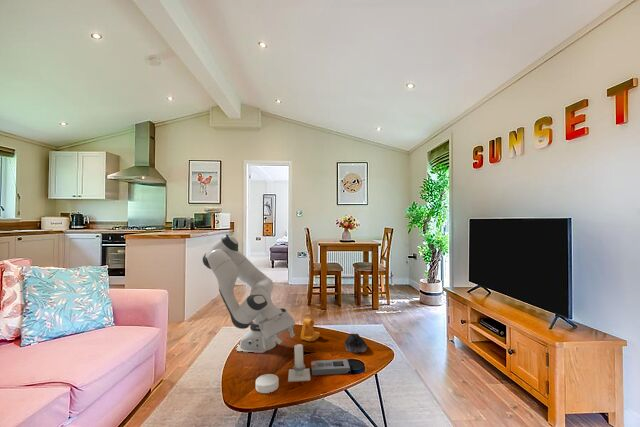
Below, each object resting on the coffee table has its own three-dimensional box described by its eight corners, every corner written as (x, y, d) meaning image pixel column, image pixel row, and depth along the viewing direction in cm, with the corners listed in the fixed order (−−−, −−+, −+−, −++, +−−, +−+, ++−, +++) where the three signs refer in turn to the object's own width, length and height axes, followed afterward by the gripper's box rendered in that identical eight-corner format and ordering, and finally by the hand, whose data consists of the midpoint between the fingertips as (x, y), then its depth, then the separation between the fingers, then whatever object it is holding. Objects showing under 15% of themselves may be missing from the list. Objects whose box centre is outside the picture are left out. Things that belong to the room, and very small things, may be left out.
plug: (293, 377, 133) (292, 348, 133) (293, 371, 139) (292, 343, 139) (305, 376, 133) (304, 348, 134) (305, 370, 139) (304, 343, 139)
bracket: (309, 342, 174) (309, 322, 174) (300, 340, 178) (300, 320, 178) (320, 337, 182) (320, 317, 183) (311, 334, 187) (310, 315, 187)
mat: (288, 381, 131) (288, 380, 131) (288, 370, 141) (288, 369, 141) (310, 380, 131) (310, 379, 131) (309, 369, 141) (309, 368, 141)
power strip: (312, 375, 136) (311, 368, 136) (311, 366, 145) (311, 359, 145) (350, 373, 137) (350, 366, 137) (347, 364, 146) (346, 357, 146)
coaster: (277, 393, 122) (277, 384, 122) (253, 394, 122) (253, 386, 122) (279, 380, 132) (279, 372, 132) (257, 381, 132) (257, 374, 132)
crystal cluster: (357, 343, 173) (354, 326, 174) (373, 348, 162) (370, 330, 163) (340, 351, 166) (337, 333, 166) (355, 357, 155) (353, 338, 155)
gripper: (260, 318, 138) (276, 343, 132) (287, 307, 155) (303, 329, 149) (253, 326, 140) (269, 351, 134) (281, 314, 157) (296, 336, 151)
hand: (287, 339), depth 142 cm, fingers open, 8 cm apart
